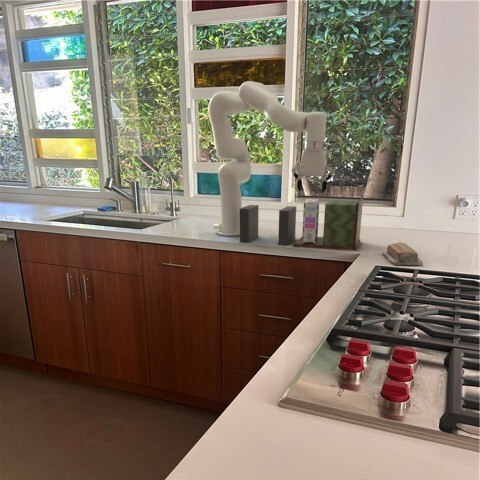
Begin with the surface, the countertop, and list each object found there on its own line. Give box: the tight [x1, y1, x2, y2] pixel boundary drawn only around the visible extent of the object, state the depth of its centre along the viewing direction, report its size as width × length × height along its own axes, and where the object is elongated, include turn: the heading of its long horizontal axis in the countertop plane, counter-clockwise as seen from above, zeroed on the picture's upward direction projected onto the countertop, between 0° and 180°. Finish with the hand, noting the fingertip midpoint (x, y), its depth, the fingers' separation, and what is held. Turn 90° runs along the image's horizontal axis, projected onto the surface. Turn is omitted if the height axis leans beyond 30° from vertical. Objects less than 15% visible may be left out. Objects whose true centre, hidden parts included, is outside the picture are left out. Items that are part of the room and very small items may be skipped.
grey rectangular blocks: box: [239, 204, 297, 246], centre depth 198 cm, size 21×14×14 cm, turn 71°
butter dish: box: [381, 242, 423, 266], centre depth 166 cm, size 18×5×10 cm
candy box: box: [301, 198, 320, 243], centre depth 192 cm, size 14×6×16 cm, turn 168°
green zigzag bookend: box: [293, 197, 364, 251], centre depth 190 cm, size 25×17×18 cm
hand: (311, 191), depth 188 cm, fingers open, 9 cm apart
